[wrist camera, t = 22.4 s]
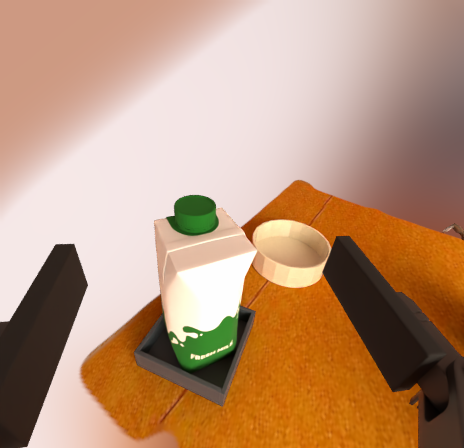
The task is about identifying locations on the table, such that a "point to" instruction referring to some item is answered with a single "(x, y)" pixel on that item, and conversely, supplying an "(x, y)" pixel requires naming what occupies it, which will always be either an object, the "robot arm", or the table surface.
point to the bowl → (289, 253)
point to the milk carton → (201, 280)
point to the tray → (204, 380)
